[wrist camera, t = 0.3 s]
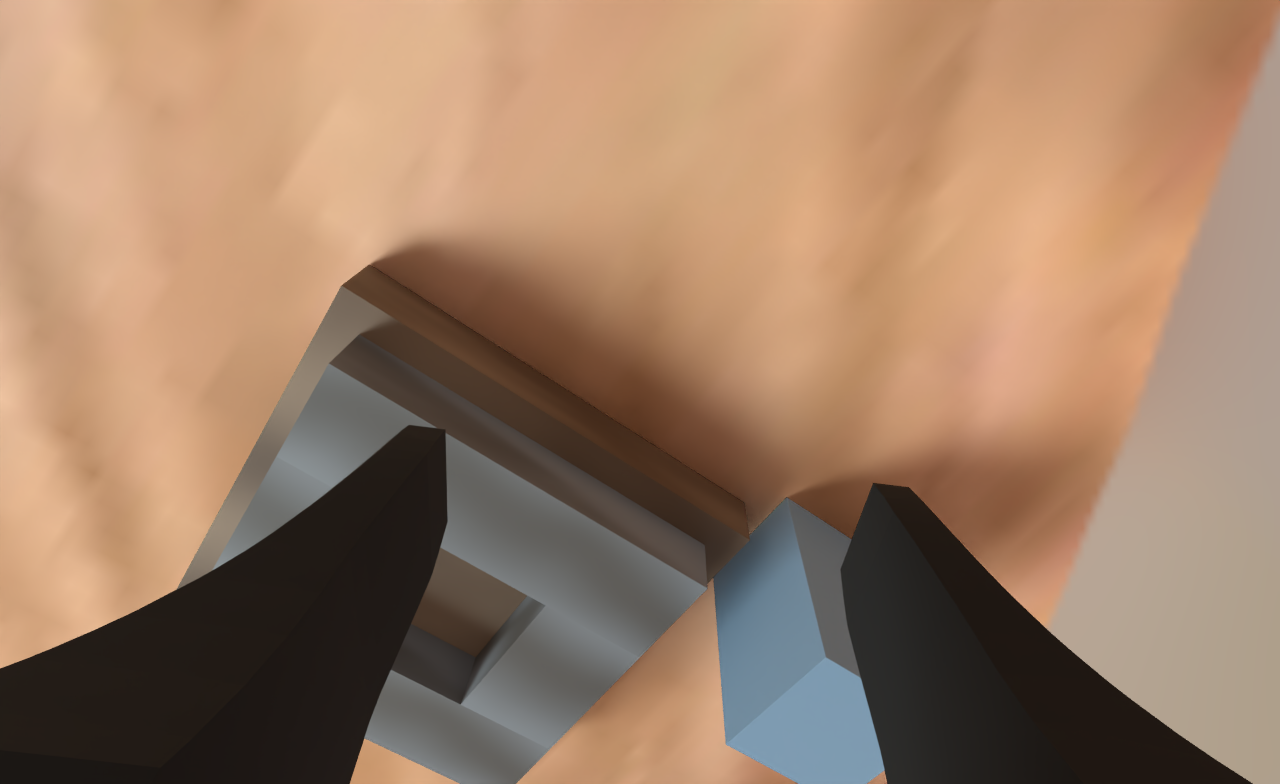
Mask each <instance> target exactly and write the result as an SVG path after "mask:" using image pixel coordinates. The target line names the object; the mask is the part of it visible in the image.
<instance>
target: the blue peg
mask: <svg viewBox="0 0 1280 784" xmlns="http://www.w3.org/2000/svg"><path fill="white" fill-rule="evenodd" d="M749 537H750V541H749V542H748V543H747V544H746V545H745V546H744V547H743V548H742V549H741V550H740V551H739V552H738V553H737V554H736V555H735V556H734V557H733V558H732V559H731V560H730V561H729V562H728V563H727V564H726V565H725V566H724V567H723V568H722V569H721V570H720V571H719V572H718V573H717V574H716V575H715V576H714V577H713V579H714V592H715V606H716V619H717V632H718V646H719V659H720V672H721V686H722V699H723V712H724V726H725V739H726V745H728V746H730V747H732V748H734V749H735V750H737V751H739V752H741V753H743V754H745V755H747V756H748V757H750V758H752V759H754V760H756V761H758V762H760V763H761V764H763V765H765V766H767V767H769V768H771V769H773V770H774V771H776V772H778V773H780V774H782V775H784V776H786V777H787V778H789V779H791V780H793V781H795V782H797V783H799V784H867V783H868V782H869V781H871V780H872V779H873V778H875V777H876V776H877V775H879V774H880V773H881V772H883V771H884V770H885V769H884V765H883V760H882V756H881V751H880V748H879V744H878V740H877V736H876V733H875V729H874V725H873V721H872V718H871V714H870V710H869V706H868V703H867V699H866V695H865V692H864V688H863V684H862V680H861V677H860V673H859V669H858V665H857V661H856V658H855V654H854V650H853V646H852V642H851V638H850V634H849V630H848V626H847V620H846V613H845V606H844V598H843V589H842V580H841V571H840V569H841V566H842V564H843V561H844V558H845V556H846V553H847V551H848V548H849V545H850V543H851V540H852V539H850V538H849V537H847V536H846V535H844V534H843V533H841V532H839V531H838V530H836V529H835V528H833V527H832V526H830V525H829V524H827V523H826V522H824V521H823V520H821V519H819V518H818V517H816V516H815V515H813V514H812V513H810V512H809V511H807V510H806V509H804V508H802V507H801V506H799V505H798V504H796V503H795V502H793V501H792V500H790V499H789V498H787V497H786V498H785V499H784V500H783V501H782V502H781V504H780V505H779V506H778V507H777V508H776V509H775V510H774V511H773V512H772V513H771V514H770V515H769V516H768V517H767V518H766V519H765V520H764V521H763V522H762V523H761V524H760V525H759V526H758V527H757V528H756V529H755V530H754V531H753V532H752V533H751V534H750V535H749Z"/></svg>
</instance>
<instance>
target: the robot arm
mask: <svg viewBox="0 0 1280 784" xmlns="http://www.w3.org/2000/svg"><path fill="white" fill-rule="evenodd" d="M447 522H448V516H447V471H446V429H439V428H431V427H423V426H415V425H408V426H407V427H405V428H404V429H402V430H401V431H400V432H399V433H398V434H396V435H395V436H394V437H393V438H392V439H390V440H389V441H388V442H387V443H386V444H385V445H384V446H382V447H381V448H380V449H379V450H378V451H377V452H375V453H374V454H373V455H372V456H371V457H370V458H368V459H367V460H366V461H365V462H364V463H362V464H361V465H360V466H359V467H358V468H356V469H355V470H354V471H353V472H352V473H350V474H349V475H348V476H347V477H345V478H344V479H343V480H342V481H340V482H339V483H338V484H337V485H335V486H334V487H333V488H332V489H330V490H329V491H328V492H327V493H325V494H324V495H323V496H322V497H320V498H319V499H318V500H317V501H315V502H314V503H313V504H311V505H310V506H309V507H307V508H306V509H304V510H303V511H302V512H300V513H299V514H297V515H296V516H295V517H293V518H292V519H291V520H289V521H288V522H286V523H285V524H284V525H282V526H281V527H280V528H278V529H277V530H275V531H274V532H273V533H271V534H270V535H268V536H267V537H265V538H264V539H262V540H261V541H259V542H258V543H256V544H255V545H253V546H252V547H250V548H249V549H247V550H245V551H244V552H242V553H241V554H239V555H237V556H236V557H234V558H232V559H231V560H229V561H227V562H226V563H224V564H222V565H221V566H219V567H217V568H216V569H214V570H212V571H211V572H209V573H207V574H205V575H203V576H202V577H200V578H198V579H196V580H194V581H192V582H190V583H188V584H187V585H185V586H183V587H181V588H179V589H177V590H175V591H173V592H171V593H169V594H167V595H165V596H164V597H162V598H160V599H158V600H156V601H154V602H152V603H150V604H148V605H146V606H144V607H142V608H141V609H139V610H137V611H134V612H132V613H130V614H128V615H126V616H124V617H122V618H120V619H117V620H115V621H113V622H111V623H109V624H107V625H105V626H102V627H100V628H98V629H96V630H94V631H91V632H89V633H87V634H84V635H82V636H80V637H77V638H75V639H73V640H71V641H68V642H66V643H64V644H61V645H59V646H57V647H54V648H52V649H49V650H47V651H44V652H42V653H40V654H37V655H35V656H32V657H30V658H27V659H25V660H22V661H19V662H17V663H14V664H11V665H9V666H6V667H3V668H1V669H0V784H350V781H351V777H352V774H353V771H354V768H355V765H356V762H357V759H358V756H359V753H360V750H361V747H362V744H363V741H364V737H365V734H366V731H367V728H368V725H369V722H370V719H371V717H372V714H373V712H374V709H375V706H376V704H377V701H378V699H379V696H380V694H381V691H382V689H383V687H384V684H385V682H386V680H387V678H388V675H389V673H390V671H391V668H392V666H393V664H394V662H395V659H396V657H397V655H398V652H399V650H400V648H401V646H402V643H403V641H404V639H405V636H406V634H407V632H408V630H409V627H410V625H411V623H412V621H413V618H414V616H415V614H416V611H417V609H418V607H419V604H420V602H421V600H422V597H423V595H424V593H425V590H426V588H427V586H428V583H429V581H430V579H431V576H432V573H433V570H434V567H435V563H436V560H437V557H438V554H439V550H440V547H441V543H442V540H443V536H444V533H445V529H446V526H447ZM840 571H841V580H842V589H843V598H844V606H845V613H846V620H847V626H848V630H849V634H850V638H851V642H852V646H853V650H854V654H855V658H856V661H857V665H858V669H859V673H860V677H861V680H862V684H863V688H864V692H865V695H866V699H867V703H868V706H869V710H870V714H871V718H872V721H873V725H874V729H875V733H876V736H877V740H878V744H879V748H880V751H881V756H882V760H883V765H884V769H885V774H886V778H887V784H1252V783H1251V782H1249V781H1248V780H1246V779H1244V778H1243V777H1242V776H1240V775H1238V774H1237V773H1235V772H1234V771H1232V770H1231V769H1229V768H1228V767H1226V766H1224V765H1223V764H1221V763H1220V762H1218V761H1217V760H1215V759H1214V758H1212V757H1211V756H1209V755H1208V754H1206V753H1205V752H1203V751H1202V750H1200V749H1199V748H1198V747H1196V746H1195V745H1193V744H1192V743H1190V742H1189V741H1187V740H1186V739H1184V738H1183V737H1182V736H1180V735H1179V734H1177V733H1176V732H1174V731H1173V730H1172V729H1170V728H1169V727H1167V726H1166V725H1165V724H1164V723H1162V722H1161V721H1160V720H1158V719H1157V718H1155V717H1154V716H1153V715H1151V714H1150V713H1149V712H1147V711H1146V710H1145V709H1143V708H1142V707H1140V706H1139V705H1138V704H1136V703H1135V702H1134V701H1132V700H1131V699H1130V698H1128V697H1127V696H1126V695H1125V694H1123V693H1122V692H1121V691H1119V690H1118V689H1117V688H1116V687H1114V686H1113V685H1112V684H1110V683H1109V682H1108V681H1107V680H1105V679H1104V678H1103V677H1102V676H1101V675H1099V674H1098V673H1097V672H1096V671H1095V670H1093V669H1092V668H1091V667H1090V666H1089V665H1087V664H1086V663H1085V662H1084V661H1083V660H1082V659H1080V658H1079V657H1078V656H1077V655H1075V654H1074V653H1073V652H1072V651H1071V650H1070V649H1068V648H1067V647H1066V646H1065V645H1064V644H1063V643H1062V642H1060V641H1059V640H1058V639H1057V638H1056V637H1055V636H1054V635H1053V634H1051V633H1050V632H1049V631H1048V630H1047V629H1046V628H1045V627H1044V626H1043V625H1042V624H1041V623H1040V622H1039V621H1038V620H1036V619H1035V618H1034V617H1033V616H1032V615H1031V614H1030V613H1029V612H1028V611H1027V610H1026V609H1025V608H1024V607H1023V606H1022V605H1021V604H1020V603H1019V602H1017V601H1016V600H1015V599H1014V598H1013V597H1012V596H1011V595H1010V594H1009V593H1008V592H1007V591H1006V590H1005V589H1004V588H1003V587H1002V586H1001V585H1000V584H999V583H998V581H997V580H996V579H995V578H994V577H993V576H992V575H991V574H990V573H989V572H988V571H987V570H986V569H985V568H984V567H983V566H982V565H981V564H980V563H979V562H978V561H977V560H976V559H975V558H974V556H973V555H972V554H971V553H970V552H969V551H968V550H967V549H966V548H965V547H964V546H963V545H962V544H961V542H960V541H959V540H958V539H957V538H956V537H955V536H954V535H953V534H952V533H951V532H950V530H949V529H948V528H947V527H946V526H945V525H944V524H943V523H942V522H941V521H940V520H939V518H938V517H937V516H936V515H935V514H934V513H933V512H932V511H931V510H930V509H929V508H928V507H927V506H926V504H925V503H924V502H923V501H922V500H921V499H920V498H919V497H918V496H917V495H916V494H915V493H914V492H913V491H912V490H911V489H910V488H909V487H901V486H893V485H885V484H877V483H873V485H872V488H871V490H870V493H869V495H868V498H867V501H866V503H865V506H864V509H863V511H862V514H861V516H860V519H859V522H858V524H857V527H856V530H855V532H854V535H853V537H852V540H851V543H850V545H849V548H848V551H847V553H846V556H845V558H844V561H843V564H842V566H841V569H840Z"/></svg>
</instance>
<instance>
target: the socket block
mask: <svg viewBox="0 0 1280 784" xmlns="http://www.w3.org/2000/svg"><path fill="white" fill-rule="evenodd" d="M408 425H415V426H423V427H431V428H439V429H446V471H447V516H448V522H447V526H446V529H445V533H444V536H443V540H442V543H441V547H440V550H439V554H438V557H437V560H436V563H435V567H434V570H433V573H432V576H431V579H430V581H429V583H428V586H427V588H426V590H425V593H424V595H423V597H422V600H421V602H420V604H419V607H418V609H417V611H416V614H415V616H414V618H413V621H412V623H411V625H410V627H409V630H408V632H407V634H406V636H405V639H404V641H403V643H402V646H401V648H400V650H399V652H398V655H397V657H396V659H395V662H394V664H393V666H392V668H391V671H390V673H389V675H388V678H387V680H386V682H385V684H384V687H383V689H382V691H381V694H380V696H379V699H378V701H377V704H376V706H375V709H374V712H373V714H372V717H371V719H370V722H369V725H368V728H367V731H366V734H365V737H364V738H365V739H367V740H369V741H371V742H373V743H376V744H378V745H380V746H382V747H384V748H386V749H388V750H390V751H392V752H395V753H397V754H399V755H401V756H403V757H405V758H407V759H409V760H411V761H414V762H416V763H418V764H420V765H422V766H424V767H426V768H428V769H430V770H433V771H435V772H437V773H439V774H441V775H443V776H445V777H447V778H449V779H451V780H454V781H456V782H458V783H460V784H516V783H517V782H518V781H519V780H520V779H521V778H522V777H523V776H524V775H525V774H526V773H527V772H528V771H529V770H530V769H531V768H532V767H533V766H534V765H535V764H536V763H537V762H538V761H539V760H540V759H541V758H542V757H543V756H544V755H545V754H546V753H547V751H548V750H549V749H550V748H551V747H552V746H553V745H554V744H555V743H556V742H557V741H558V740H559V739H560V738H561V737H562V736H563V735H564V734H565V733H566V732H567V731H568V730H569V729H570V728H571V727H572V726H573V725H574V724H575V723H576V722H577V721H578V720H579V719H580V718H581V717H582V716H583V715H584V714H585V713H586V712H587V711H588V710H589V709H590V708H591V707H592V706H593V705H594V704H595V703H596V702H597V701H598V700H599V699H600V698H601V696H602V695H603V694H604V693H605V692H606V691H607V690H608V689H609V688H610V687H611V686H612V685H613V684H614V683H615V682H616V681H617V680H618V679H619V678H620V677H621V676H622V675H623V674H624V673H625V672H626V671H627V670H628V669H629V668H630V667H631V666H632V665H633V664H634V663H635V662H636V661H637V660H638V659H639V658H640V657H641V656H642V655H643V654H644V653H645V652H646V651H647V650H648V649H649V648H650V647H651V646H652V645H653V644H654V643H655V641H656V640H657V639H658V638H659V637H660V636H661V635H662V634H663V633H664V632H665V631H666V630H667V629H668V628H669V627H670V626H671V625H672V624H673V623H674V622H675V621H676V620H677V619H678V618H679V617H680V616H681V615H682V614H683V613H684V612H685V611H686V610H687V609H688V608H689V607H690V606H691V605H692V604H693V603H694V602H695V601H696V600H697V599H698V598H699V597H700V596H701V595H702V594H703V593H704V592H705V591H706V590H707V589H708V588H707V584H708V583H709V581H710V580H711V579H712V578H713V577H714V576H715V575H716V574H717V573H718V572H719V571H720V570H721V569H722V568H723V567H724V566H725V565H726V564H727V563H728V562H729V561H730V560H731V559H732V558H733V557H734V556H735V555H736V554H737V553H738V552H739V551H740V550H741V549H742V548H743V547H744V546H745V545H746V544H747V543H748V542H749V541H750V537H749V530H748V523H747V517H746V510H745V504H744V503H743V502H742V501H740V500H739V499H737V498H736V497H734V496H732V495H731V494H729V493H728V492H726V491H725V490H723V489H721V488H720V487H718V486H717V485H715V484H714V483H712V482H710V481H709V480H707V479H706V478H704V477H703V476H701V475H699V474H698V473H696V472H695V471H693V470H692V469H690V468H688V467H687V466H685V465H684V464H682V463H681V462H679V461H677V460H676V459H674V458H673V457H671V456H670V455H668V454H666V453H665V452H663V451H662V450H660V449H659V448H657V447H655V446H654V445H652V444H651V443H649V442H648V441H646V440H644V439H643V438H641V437H640V436H638V435H637V434H635V433H633V432H632V431H630V430H629V429H627V428H625V427H624V426H622V425H621V424H619V423H618V422H616V421H614V420H613V419H611V418H610V417H608V416H607V415H605V414H603V413H602V412H600V411H599V410H597V409H596V408H594V407H592V406H591V405H589V404H588V403H586V402H585V401H583V400H581V399H580V398H578V397H577V396H575V395H574V394H572V393H570V392H569V391H567V390H566V389H564V388H563V387H561V386H559V385H558V384H556V383H555V382H553V381H552V380H550V379H548V378H547V377H545V376H544V375H542V374H541V373H539V372H537V371H536V370H534V369H533V368H531V367H530V366H528V365H526V364H525V363H523V362H522V361H520V360H519V359H517V358H515V357H514V356H512V355H511V354H509V353H508V352H506V351H504V350H503V349H501V348H500V347H498V346H497V345H495V344H493V343H492V342H490V341H489V340H487V339H486V338H484V337H482V336H481V335H479V334H478V333H476V332H475V331H473V330H471V329H470V328H468V327H467V326H465V325H464V324H462V323H460V322H459V321H457V320H456V319H454V318H453V317H451V316H449V315H448V314H446V313H445V312H443V311H442V310H440V309H438V308H437V307H435V306H434V305H432V304H430V303H429V302H427V301H426V300H424V299H423V298H421V297H419V296H418V295H416V294H415V293H413V292H412V291H410V290H408V289H407V288H405V287H404V286H402V285H401V284H399V283H397V282H396V281H394V280H393V279H391V278H390V277H388V276H386V275H385V274H383V273H382V272H380V271H379V270H377V269H375V268H374V267H372V266H371V265H368V266H367V267H365V268H364V269H363V270H361V271H360V272H359V273H357V274H356V275H355V276H354V277H352V278H351V279H350V280H348V281H347V282H346V283H344V284H343V285H342V286H341V288H340V289H339V291H338V293H337V295H336V297H335V299H334V301H333V302H332V304H331V306H330V308H329V310H328V312H327V313H326V315H325V317H324V319H323V321H322V323H321V324H320V326H319V328H318V330H317V332H316V334H315V336H314V337H313V339H312V341H311V343H310V345H309V347H308V348H307V350H306V352H305V354H304V356H303V358H302V359H301V361H300V363H299V365H298V367H297V369H296V371H295V372H294V374H293V376H292V378H291V380H290V382H289V383H288V385H287V387H286V389H285V391H284V393H283V394H282V396H281V398H280V400H279V402H278V404H277V406H276V407H275V409H274V411H273V413H272V415H271V417H270V418H269V420H268V422H267V424H266V426H265V428H264V429H263V431H262V433H261V435H260V437H259V439H258V441H257V442H256V444H255V446H254V448H253V450H252V452H251V453H250V455H249V457H248V459H247V461H246V463H245V464H244V466H243V468H242V470H241V472H240V474H239V476H238V477H237V479H236V481H235V483H234V485H233V487H232V488H231V490H230V492H229V494H228V496H227V498H226V499H225V501H224V503H223V505H222V507H221V509H220V511H219V512H218V514H217V516H216V518H215V520H214V522H213V523H212V525H211V527H210V529H209V531H208V533H207V534H206V536H205V538H204V540H203V542H202V544H201V546H200V547H199V549H198V551H197V553H196V555H195V557H194V558H193V560H192V562H191V564H190V566H189V568H188V569H187V571H186V573H185V575H184V577H183V579H182V581H181V582H180V584H179V586H178V588H177V589H179V588H181V587H183V586H185V585H187V584H188V583H190V582H192V581H194V580H196V579H198V578H200V577H202V576H203V575H205V574H207V573H209V572H211V571H212V570H214V569H216V568H217V567H219V566H221V565H222V564H224V563H226V562H227V561H229V560H231V559H232V558H234V557H236V556H237V555H239V554H241V553H242V552H244V551H245V550H247V549H249V548H250V547H252V546H253V545H255V544H256V543H258V542H259V541H261V540H262V539H264V538H265V537H267V536H268V535H270V534H271V533H273V532H274V531H275V530H277V529H278V528H280V527H281V526H282V525H284V524H285V523H286V522H288V521H289V520H291V519H292V518H293V517H295V516H296V515H297V514H299V513H300V512H302V511H303V510H304V509H306V508H307V507H309V506H310V505H311V504H313V503H314V502H315V501H317V500H318V499H319V498H320V497H322V496H323V495H324V494H325V493H327V492H328V491H329V490H330V489H332V488H333V487H334V486H335V485H337V484H338V483H339V482H340V481H342V480H343V479H344V478H345V477H347V476H348V475H349V474H350V473H352V472H353V471H354V470H355V469H356V468H358V467H359V466H360V465H361V464H362V463H364V462H365V461H366V460H367V459H368V458H370V457H371V456H372V455H373V454H374V453H375V452H377V451H378V450H379V449H380V448H381V447H382V446H384V445H385V444H386V443H387V442H388V441H389V440H390V439H392V438H393V437H394V436H395V435H396V434H398V433H399V432H400V431H401V430H402V429H404V428H405V427H407V426H408Z"/></svg>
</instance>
